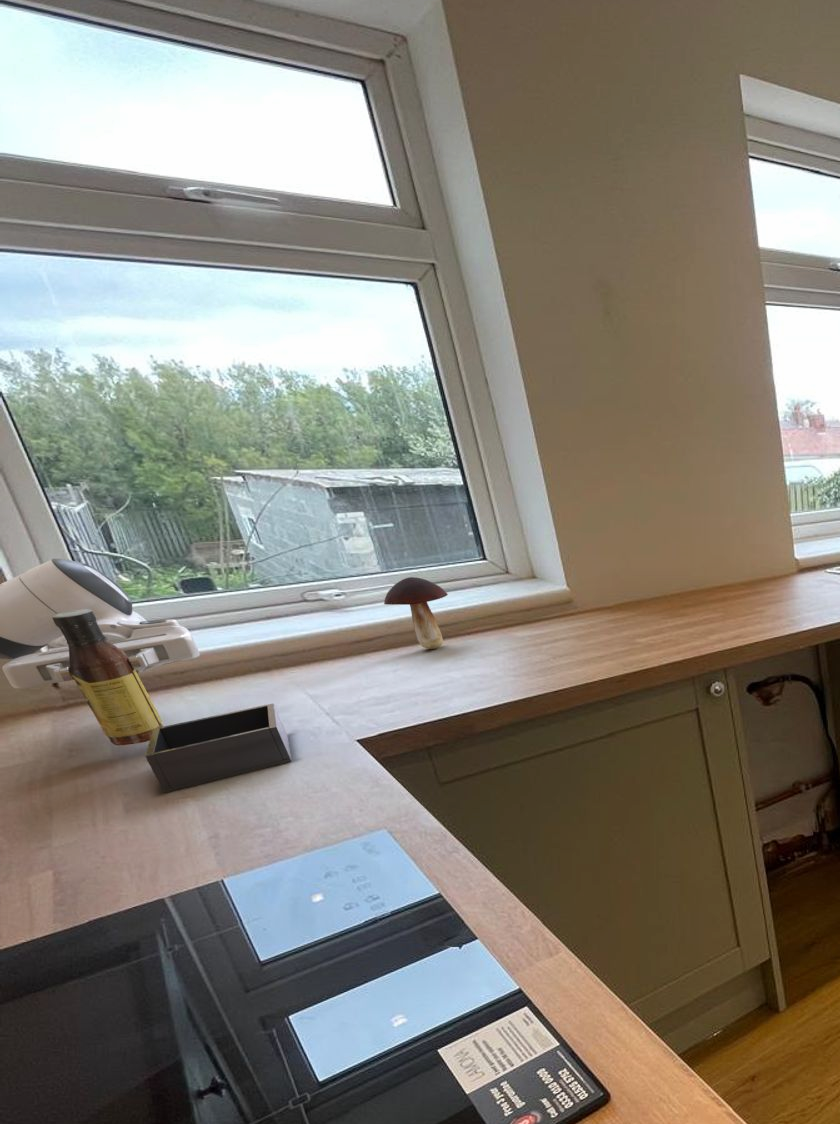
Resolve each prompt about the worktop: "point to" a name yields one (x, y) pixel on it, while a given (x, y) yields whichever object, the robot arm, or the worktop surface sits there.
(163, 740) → the open rectangular box
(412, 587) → the decorative mushroom
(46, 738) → the worktop surface
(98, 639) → the sauce bottle
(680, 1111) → the worktop surface
